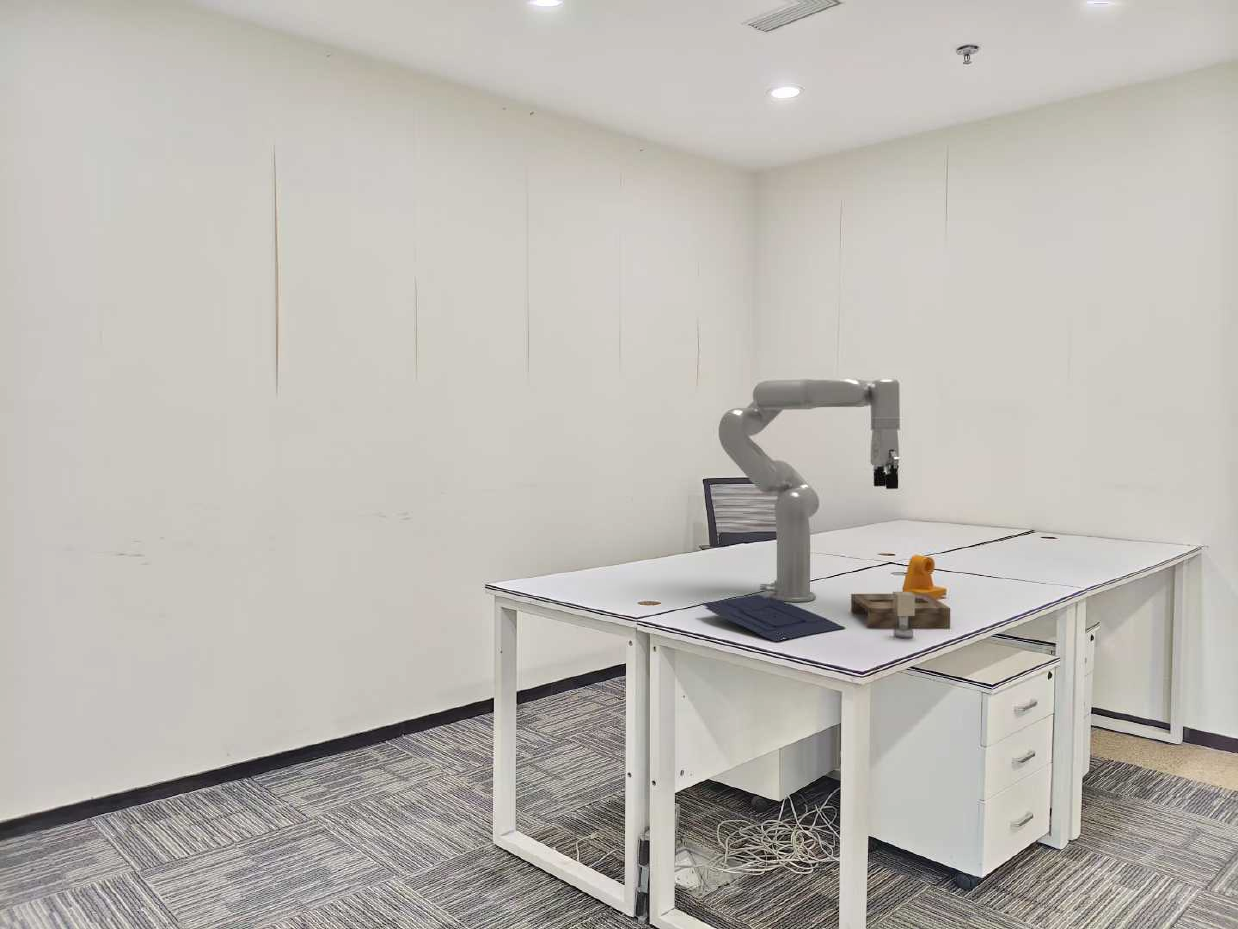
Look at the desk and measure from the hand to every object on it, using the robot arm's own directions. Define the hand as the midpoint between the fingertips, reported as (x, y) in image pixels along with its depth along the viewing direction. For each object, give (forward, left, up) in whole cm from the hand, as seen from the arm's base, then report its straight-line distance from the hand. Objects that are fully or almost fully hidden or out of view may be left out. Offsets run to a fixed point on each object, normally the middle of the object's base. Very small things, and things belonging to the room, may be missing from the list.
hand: (885, 487), depth 244 cm
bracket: (+15, +12, -33) cm, 39 cm away
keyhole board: (-1, -16, -33) cm, 36 cm away
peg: (-5, -33, -33) cm, 47 cm away
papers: (-35, -19, -33) cm, 52 cm away
